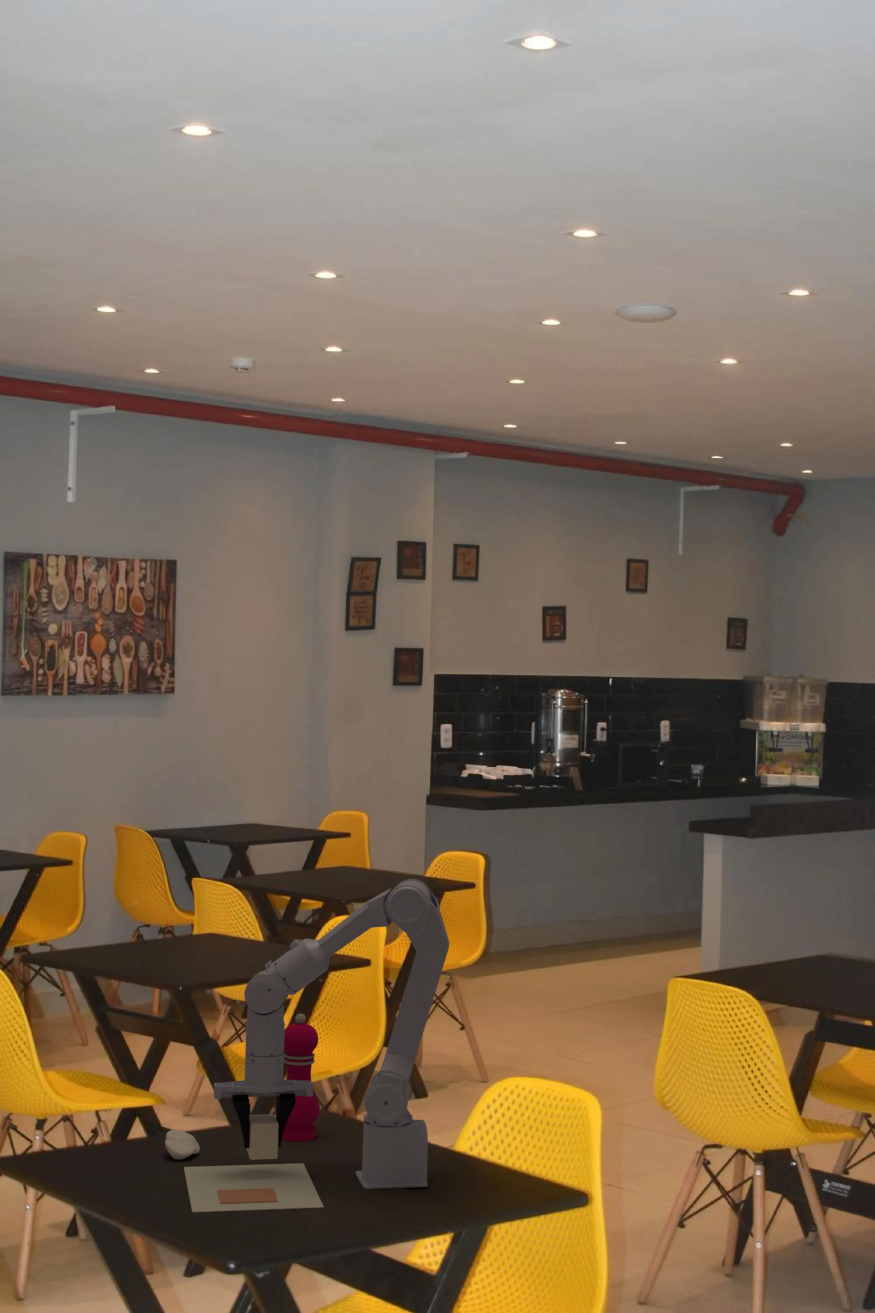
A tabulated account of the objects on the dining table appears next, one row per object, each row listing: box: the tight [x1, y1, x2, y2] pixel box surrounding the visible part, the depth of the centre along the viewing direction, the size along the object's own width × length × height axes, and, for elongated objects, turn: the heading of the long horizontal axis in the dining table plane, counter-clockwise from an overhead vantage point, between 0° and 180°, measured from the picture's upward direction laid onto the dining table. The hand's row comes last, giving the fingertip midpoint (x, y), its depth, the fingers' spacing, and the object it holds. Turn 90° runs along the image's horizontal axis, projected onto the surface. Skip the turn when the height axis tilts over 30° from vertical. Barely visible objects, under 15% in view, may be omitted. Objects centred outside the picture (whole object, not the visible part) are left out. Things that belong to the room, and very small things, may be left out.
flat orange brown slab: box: [217, 1188, 278, 1204], centre depth 217 cm, size 8×6×1 cm
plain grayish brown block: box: [245, 1113, 279, 1161], centre depth 229 cm, size 4×6×5 cm, turn 12°
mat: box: [183, 1162, 324, 1213], centre depth 222 cm, size 18×22×1 cm
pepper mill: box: [274, 1013, 321, 1142], centre depth 251 cm, size 7×7×20 cm
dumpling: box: [164, 1129, 201, 1161], centre depth 237 cm, size 7×5×4 cm
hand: (262, 1146), depth 229 cm, fingers closed on plain grayish brown block, 4 cm apart
